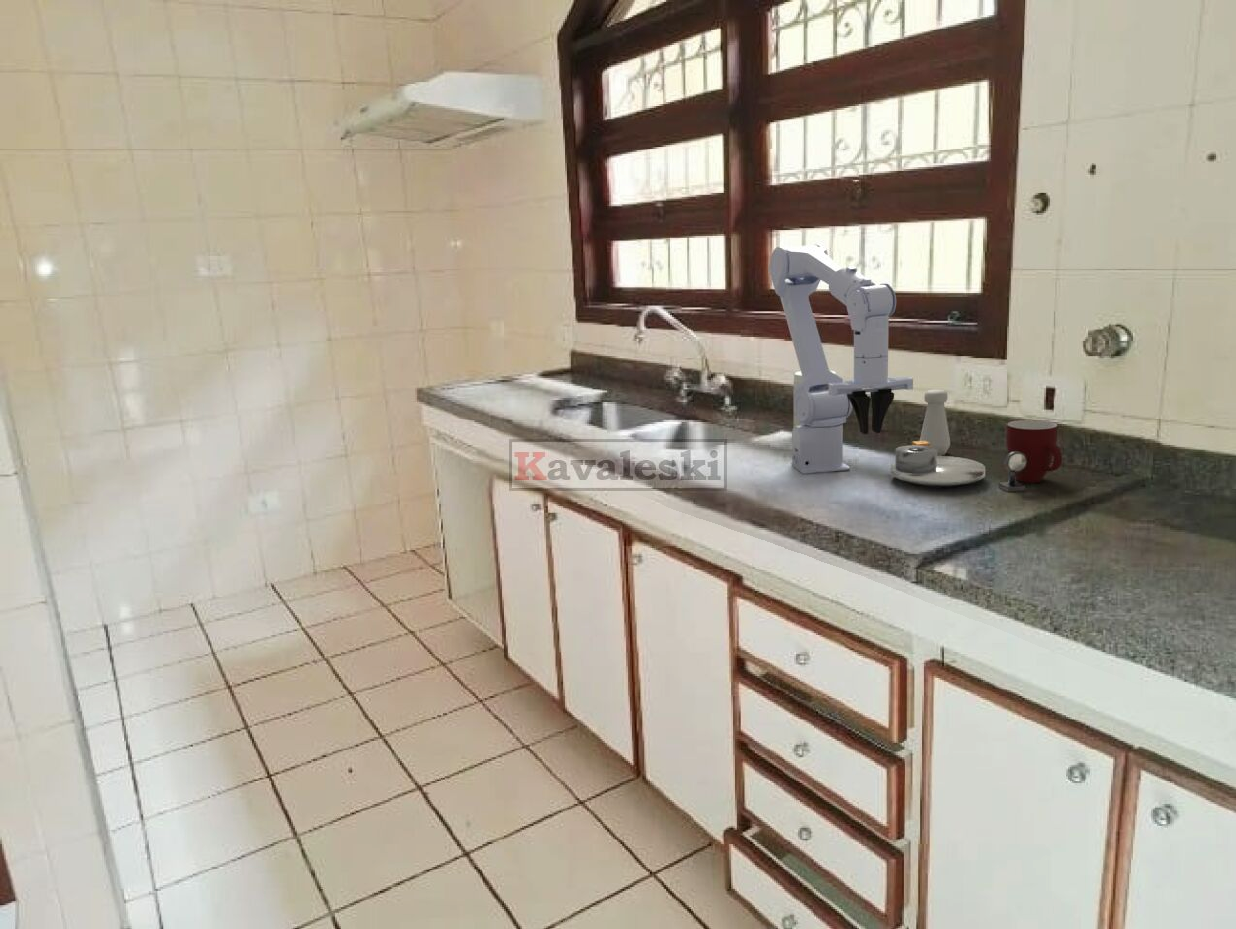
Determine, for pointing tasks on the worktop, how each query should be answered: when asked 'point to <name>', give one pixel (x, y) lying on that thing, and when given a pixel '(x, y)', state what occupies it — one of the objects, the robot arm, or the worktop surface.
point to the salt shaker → (936, 421)
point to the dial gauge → (1014, 471)
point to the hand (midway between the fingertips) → (870, 432)
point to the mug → (1034, 447)
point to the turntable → (945, 471)
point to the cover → (916, 459)
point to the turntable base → (937, 485)
